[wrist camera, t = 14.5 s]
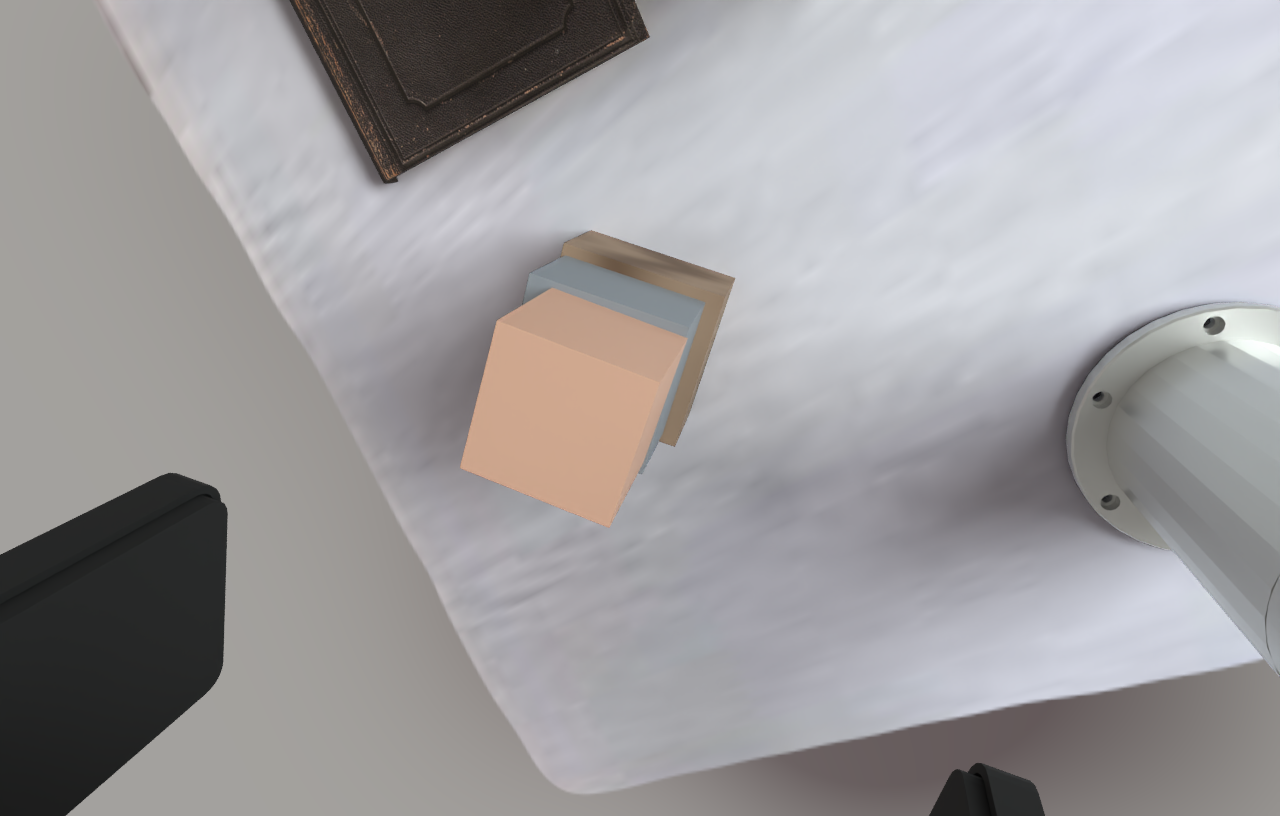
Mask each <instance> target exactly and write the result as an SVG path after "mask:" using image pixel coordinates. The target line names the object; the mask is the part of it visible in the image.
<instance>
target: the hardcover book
mask: <svg viewBox="0 0 1280 816" xmlns="http://www.w3.org/2000/svg"><path fill="white" fill-rule="evenodd" d="M290 2H291V4H292V6H293V8H294V10H295V12H296V14H297V16H298V17H299V19H300V21H301V23H302V25H303V27H304V29H305V31H306V33H307V35H308V37H309V39H310V41H311V43H312V45H313V47H314V49H315V50H316V52H317V54H318V56H319V58H320V60H321V62H322V64H323V66H324V68H325V70H326V72H327V74H328V76H329V78H330V80H331V82H332V83H333V85H334V87H335V89H336V91H337V93H338V95H339V97H340V99H341V101H342V103H343V105H344V107H345V109H346V111H347V113H348V115H349V116H350V118H351V120H352V122H353V124H354V126H355V128H356V130H357V132H358V134H359V136H360V138H361V140H362V142H363V144H364V146H365V148H366V149H367V151H368V153H369V155H370V157H371V159H372V161H373V163H374V165H375V167H376V169H377V171H378V173H379V175H380V177H381V179H382V181H383V182H384V183H394V182H398V180H397V178H396V177H397V176H398V175H400V174H402V173H404V172H406V171H407V170H409V169H411V168H413V167H415V166H417V165H418V164H420V163H422V162H424V161H426V160H427V159H429V158H431V157H433V156H435V155H437V154H438V153H440V152H442V151H444V150H446V149H447V148H449V147H451V146H453V145H455V144H457V143H458V142H460V141H462V140H464V139H466V138H467V137H469V136H471V135H473V134H475V133H477V132H478V131H480V130H482V129H484V128H486V127H487V126H489V125H491V124H493V123H495V122H497V121H498V120H500V119H502V118H504V117H506V116H508V115H509V114H511V113H513V112H515V111H517V110H518V109H520V108H522V107H524V106H526V105H528V104H529V103H531V102H533V101H535V100H537V99H538V98H540V97H542V96H544V95H546V94H548V93H549V92H551V91H553V90H555V89H557V88H558V87H560V86H562V85H564V84H566V83H568V82H569V81H571V80H573V79H575V78H577V77H578V76H580V75H582V74H584V73H586V72H588V71H589V70H591V69H593V68H595V67H597V66H598V65H600V64H602V63H604V62H606V61H608V60H609V59H611V58H613V57H615V56H617V55H619V54H620V53H622V52H624V51H626V50H628V49H629V48H631V47H633V46H635V45H637V44H639V43H640V42H642V41H644V40H646V39H648V38H649V37H650V36H649V34H648V31H647V29H646V27H645V24H644V22H643V19H642V17H641V15H640V12H639V10H638V7H637V5H636V3H635V0H290Z"/></svg>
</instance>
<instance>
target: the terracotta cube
mask: <svg viewBox="0 0 1280 816" xmlns="http://www.w3.org/2000/svg"><path fill="white" fill-rule="evenodd" d="M687 339H688V338H686V337H683V336H680V335H678V334H675V333H672V332H670V331H667V330H664V329H662V328H659V327H656V326H654V325H651V324H648V323H646V322H643V321H640V320H638V319H635V318H632V317H630V316H627V315H624V314H622V313H619V312H616V311H614V310H611V309H608V308H606V307H603V306H600V305H597V304H595V303H592V302H589V301H587V300H584V299H581V298H579V297H576V296H573V295H571V294H568V293H565V292H563V291H560V290H557V289H555V288H551V289H549V290H547V291H546V292H544V293H542V294H541V295H539V296H537V297H535V298H534V299H532V300H530V301H529V302H527V303H525V304H524V305H522V306H520V307H519V308H517V309H515V310H514V311H512V312H510V313H508V314H507V315H505V316H503V317H502V318H500V319H498V320H497V322H496V326H495V330H494V334H493V338H492V342H491V346H490V350H489V354H488V358H487V362H486V366H485V370H484V374H483V378H482V382H481V386H480V390H479V394H478V398H477V402H476V406H475V410H474V414H473V418H472V421H471V425H470V429H469V433H468V437H467V441H466V445H465V449H464V453H463V457H462V461H461V465H460V468H461V469H463V470H466V471H468V472H471V473H473V474H476V475H478V476H481V477H483V478H486V479H488V480H491V481H493V482H496V483H498V484H501V485H503V486H506V487H508V488H511V489H513V490H516V491H518V492H521V493H523V494H526V495H528V496H531V497H533V498H536V499H538V500H541V501H543V502H546V503H548V504H551V505H553V506H556V507H558V508H561V509H563V510H566V511H568V512H571V513H573V514H576V515H578V516H581V517H583V518H586V519H588V520H591V521H593V522H596V523H598V524H601V525H603V526H606V527H608V528H609V527H610V525H611V523H612V521H613V520H614V518H615V516H616V514H617V512H618V510H619V508H620V506H621V504H622V502H623V500H624V499H625V497H626V495H627V493H628V491H629V489H630V487H631V485H632V483H633V481H634V480H635V478H636V476H637V474H638V472H639V470H640V468H641V466H642V464H643V462H644V459H645V457H646V454H647V451H648V448H649V445H650V443H651V440H652V437H653V434H654V431H655V429H656V426H657V423H658V420H659V417H660V415H661V412H662V409H663V406H664V403H665V401H666V398H667V395H668V392H669V389H670V387H671V384H672V381H673V378H674V376H675V373H676V370H677V367H678V364H679V362H680V359H681V356H682V353H683V350H684V348H685V345H686V342H687Z"/></svg>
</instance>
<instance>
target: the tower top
mask: <svg viewBox="0 0 1280 816" xmlns="http://www.w3.org/2000/svg"><path fill="white" fill-rule="evenodd" d="M551 288H555V289H557V290H560V291H563V292H565V293H568V294H571V295H573V296H576V297H579V298H581V299H584V300H587V301H589V302H592V303H595V304H597V305H600V306H603V307H606V308H608V309H611V310H614V311H616V312H619V313H622V314H624V315H627V316H630V317H632V318H635V319H638V320H640V321H643V322H646V323H648V324H651V325H654V326H656V327H659V328H662V329H664V330H667V331H670V332H672V333H675V334H678V335H680V336H683V337H686V338H688V339H687V342H686V345H685V348H684V350H683V353H682V356H681V359H680V362H679V364H678V367H677V370H676V373H675V376H674V378H673V381H672V384H671V387H670V389H669V392H668V395H667V398H666V401H665V403H664V406H663V409H662V412H661V415H660V417H659V420H658V423H657V426H656V429H655V431H654V434H653V437H652V440H651V443H650V445H649V448H648V451H647V454H646V457H645V459H644V462H643V464H642V466H641V468H640V470H639V472H638V473H639V474H642V473H643V471H644V469H645V467H646V466H647V464H648V462H649V460H650V458H651V456H652V454H653V452H654V450H655V448H656V446H657V444H658V442H659V440H660V438H661V436H662V434H663V431H664V428H665V425H666V422H667V419H668V416H669V413H670V410H671V407H672V404H673V401H674V398H675V395H676V392H677V388H678V385H679V382H680V379H681V376H682V373H683V370H684V367H685V364H686V361H687V358H688V355H689V352H690V349H691V346H692V343H693V339H694V336H695V333H696V330H697V327H698V324H699V321H700V318H701V315H702V312H703V309H704V306H705V303H706V302H703V301H700V300H697V299H694V298H691V297H688V296H685V295H683V294H680V293H677V292H674V291H671V290H668V289H665V288H662V287H659V286H656V285H653V284H650V283H647V282H644V281H641V280H638V279H635V278H632V277H629V276H626V275H623V274H620V273H617V272H614V271H611V270H608V269H605V268H602V267H599V266H596V265H593V264H590V263H587V262H584V261H581V260H578V259H575V258H572V257H569V256H566V255H565V256H563V257H561V258H559V259H557V260H555V261H553V262H551V263H549V264H547V265H545V266H543V267H541V268H539V269H537V270H535V271H533V272H531V273H529V278H528V282H527V286H526V291H525V295H524V299H523V304H522V305H524V304H525V303H527V302H529V301H530V300H532V299H534V298H535V297H537V296H539V295H541V294H542V293H544V292H546V291H547V290H549V289H551Z"/></svg>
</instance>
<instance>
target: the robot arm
mask: <svg viewBox="0 0 1280 816" xmlns="http://www.w3.org/2000/svg"><path fill="white" fill-rule="evenodd" d="M1208 318H1210V319H1211V321H1210V323H1209V324H1208V325H1207V326H1203V325H1204V322H1205V321H1206V320H1207V319H1208ZM1098 392H1101V395H1100V397H1099V398H1096V399H1092V398H1093V396H1094V395H1095V394H1096V393H1098ZM1066 445H1067V455H1068V462H1069V465H1070V468H1071V471H1072V474H1073V477H1074V480H1075V482H1076V483H1077V485H1078V487H1079V488H1080V490H1081V491H1082V493H1083V495H1084V496H1085V498H1086V499H1087V501H1088V502H1089V503H1090V505H1091V506H1092V507H1093V509H1094V510H1095V511H1096V512H1097V513H1098V514H1099V515H1100V516H1101V517H1102V518H1103V519H1105V520H1106V521H1107V522H1108V523H1110V524H1111V525H1112V526H1113V527H1114V528H1116V529H1117V530H1119V531H1120V532H1122V533H1124V534H1126V535H1128V536H1130V537H1131V538H1133V539H1135V540H1137V541H1140V542H1142V543H1145V544H1148V545H1151V546H1154V547H1157V548H1160V549H1165V550H1171V551H1173V552H1174V553H1175V554H1176V555H1177V556H1178V557H1179V559H1180V560H1181V561H1182V562H1183V563H1184V565H1185V566H1186V567H1187V568H1188V569H1189V571H1190V572H1191V573H1192V574H1193V575H1194V576H1195V578H1196V579H1197V580H1198V581H1199V582H1200V584H1201V585H1202V586H1203V587H1204V588H1205V590H1206V591H1207V592H1208V593H1209V594H1210V595H1211V597H1212V598H1213V599H1214V600H1215V601H1216V603H1217V604H1218V605H1219V606H1220V607H1221V608H1222V610H1223V611H1224V612H1225V613H1226V614H1227V616H1228V617H1229V618H1230V619H1231V620H1232V622H1233V623H1234V624H1235V625H1236V626H1237V627H1238V629H1239V630H1240V631H1241V632H1242V633H1243V635H1244V636H1245V637H1246V638H1247V639H1248V641H1249V642H1250V643H1251V644H1252V645H1253V646H1254V648H1255V649H1256V650H1257V651H1258V652H1259V654H1260V655H1261V656H1262V657H1263V658H1264V659H1265V661H1266V662H1267V663H1268V664H1269V665H1270V666H1271V668H1272V669H1273V670H1274V671H1275V672H1276V673H1277V675H1278V676H1279V677H1280V308H1279V307H1276V306H1272V305H1266V304H1257V303H1248V302H1229V303H1212V304H1207V305H1202V306H1198V307H1193V308H1188V309H1184V310H1181V311H1178V312H1175V313H1173V314H1170V315H1168V316H1165V317H1162V318H1160V319H1157V320H1155V321H1153V322H1151V323H1149V324H1147V325H1146V326H1144V327H1142V328H1141V329H1139V330H1137V331H1135V332H1134V333H1132V334H1130V335H1129V336H1127V337H1126V338H1125V339H1124V340H1122V341H1121V342H1120V343H1119V344H1117V345H1116V346H1115V347H1114V348H1113V349H1111V350H1110V351H1109V352H1108V353H1107V354H1106V355H1105V356H1104V357H1103V358H1102V359H1101V360H1100V362H1099V363H1098V364H1097V365H1096V366H1095V367H1094V368H1093V370H1092V371H1091V372H1090V373H1089V375H1088V376H1087V378H1086V380H1085V381H1084V383H1083V385H1082V386H1081V388H1080V390H1079V391H1078V393H1077V395H1076V398H1075V401H1074V404H1073V406H1072V409H1071V412H1070V415H1069V419H1068V427H1067V435H1066ZM1107 495H1109V496H1108V497H1107V498H1104V499H1102V498H1103V497H1104V496H1107ZM227 515H228V514H227V508H226V506H225V504H224V503H222V502H221V498H220V494H219V492H218V490H217V489H216V488H214V487H212V486H210V485H207V484H204V483H202V482H199V481H196V480H193V479H191V478H188V477H185V476H182V475H180V474H177V473H168V474H165V475H162V476H159V477H157V478H155V479H153V480H151V481H149V482H147V483H145V484H143V485H141V486H139V487H137V488H135V489H133V490H131V491H129V492H127V493H125V494H123V495H121V496H119V497H117V498H115V499H113V500H111V501H108V502H106V503H105V504H102V505H100V506H98V507H97V508H95V509H92V510H90V511H88V512H86V513H84V514H82V515H80V516H78V517H76V518H74V519H72V520H70V521H68V522H66V523H64V524H62V525H60V526H58V527H56V528H54V529H52V530H50V531H48V532H46V533H44V534H42V535H40V536H37V537H35V538H33V539H32V540H29V541H27V542H25V543H23V544H21V545H19V546H17V547H15V548H13V549H11V550H9V551H7V552H5V553H3V554H1V555H0V816H66V815H67V814H68V813H69V812H70V811H71V810H73V809H74V808H75V807H76V806H77V805H78V804H79V803H81V802H82V801H83V800H84V799H85V798H86V797H87V796H89V795H90V794H91V793H92V792H93V791H94V790H95V789H97V788H98V787H99V786H100V785H101V784H102V783H104V782H105V781H106V780H107V779H108V778H109V777H111V776H112V775H113V774H114V773H115V772H116V771H117V770H118V769H120V768H121V767H122V766H123V765H124V764H125V763H127V761H129V760H130V759H131V758H132V757H134V756H135V755H136V754H137V753H138V752H139V751H140V750H142V749H143V748H144V747H145V746H146V745H147V744H149V743H150V742H151V741H152V740H153V739H154V738H155V737H156V736H158V735H159V734H160V733H161V732H162V731H163V730H165V729H166V728H167V727H168V726H169V725H170V724H172V723H173V722H174V721H175V720H176V719H177V718H178V717H180V716H181V715H182V714H183V713H184V712H185V711H187V710H188V709H189V708H190V707H191V706H192V705H193V704H194V703H195V702H197V701H198V700H199V699H200V698H201V697H203V696H204V695H205V694H206V693H207V692H208V691H209V690H210V689H211V687H212V686H213V685H214V684H215V682H216V681H217V679H218V677H219V675H220V673H221V669H222V666H223V650H224V615H225V582H226V581H225V580H226V579H225V578H226V549H227ZM929 816H1045V814H1044V811H1043V807H1042V804H1041V800H1040V797H1039V794H1038V791H1037V789H1036V787H1035V785H1034V784H1033V783H1032V782H1031V781H1029V780H1026V779H1024V778H1021V777H1018V776H1015V775H1013V774H1010V773H1007V772H1004V771H1002V770H999V769H996V768H993V767H990V766H988V765H985V764H982V763H976V764H975V765H973V766H972V767H971V768H970V770H969V771H968V773H967V772H964V771H962V770H958V769H957V770H954V771H953V772H952V774H951V775H950V777H949V778H948V780H947V782H946V784H945V786H944V788H943V790H942V792H941V794H940V796H939V798H938V800H937V802H936V804H935V805H934V808H933V809H932V811H931V813H930V815H929Z"/></svg>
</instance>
